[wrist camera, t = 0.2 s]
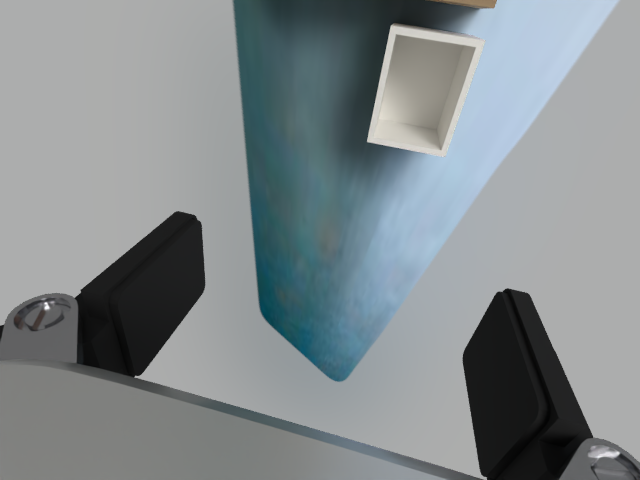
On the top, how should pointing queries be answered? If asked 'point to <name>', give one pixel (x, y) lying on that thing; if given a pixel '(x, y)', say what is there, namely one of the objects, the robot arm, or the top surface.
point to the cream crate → (423, 88)
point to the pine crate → (470, 3)
